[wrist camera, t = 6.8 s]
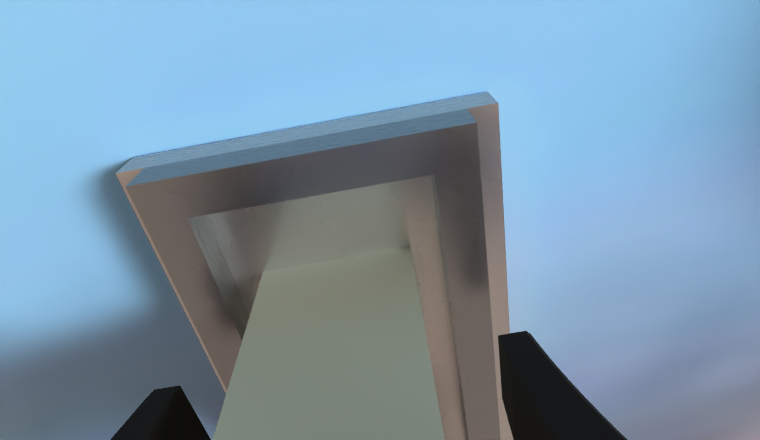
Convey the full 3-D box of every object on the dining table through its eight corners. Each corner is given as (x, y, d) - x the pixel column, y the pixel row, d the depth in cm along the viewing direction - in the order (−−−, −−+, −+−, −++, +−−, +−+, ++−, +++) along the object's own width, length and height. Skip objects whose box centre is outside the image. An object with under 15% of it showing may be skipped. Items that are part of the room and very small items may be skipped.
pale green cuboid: (262, 272, 12) (194, 498, 7) (410, 246, 12) (448, 462, 7) (298, 366, 14) (263, 603, 9) (427, 345, 14) (468, 575, 9)
